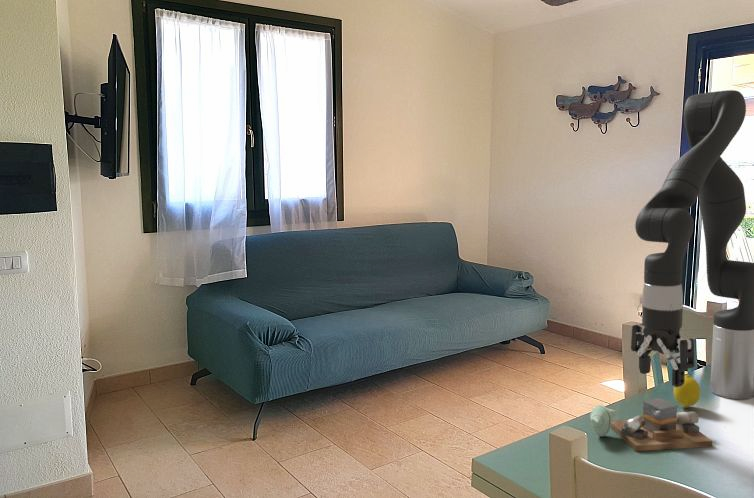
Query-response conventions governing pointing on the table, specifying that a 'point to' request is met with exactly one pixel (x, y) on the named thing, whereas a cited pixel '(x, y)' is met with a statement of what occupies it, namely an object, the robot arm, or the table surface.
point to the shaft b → (635, 428)
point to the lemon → (687, 392)
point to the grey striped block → (659, 415)
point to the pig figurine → (601, 419)
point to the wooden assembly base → (668, 435)
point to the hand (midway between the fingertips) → (660, 379)
